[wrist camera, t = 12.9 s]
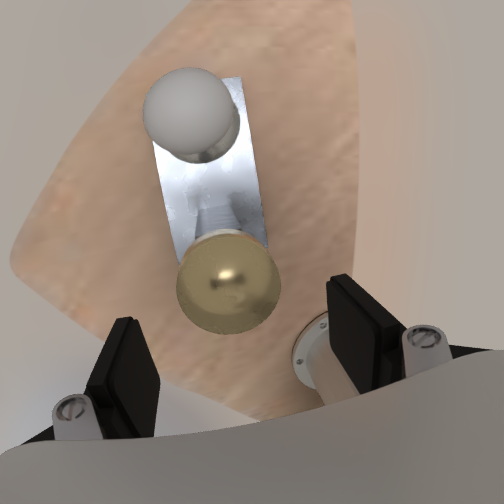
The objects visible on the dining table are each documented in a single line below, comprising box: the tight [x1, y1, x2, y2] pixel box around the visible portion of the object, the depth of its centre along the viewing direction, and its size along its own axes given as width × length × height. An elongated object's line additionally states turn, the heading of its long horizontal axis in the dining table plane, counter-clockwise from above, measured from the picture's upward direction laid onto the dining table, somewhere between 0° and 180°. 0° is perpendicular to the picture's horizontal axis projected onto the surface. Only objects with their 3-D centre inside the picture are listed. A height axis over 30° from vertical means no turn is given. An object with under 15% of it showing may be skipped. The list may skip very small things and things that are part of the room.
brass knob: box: [176, 229, 281, 335], centre depth 18 cm, size 5×5×6 cm
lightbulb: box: [143, 68, 234, 155], centre depth 22 cm, size 6×6×11 cm
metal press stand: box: [146, 77, 268, 265], centre depth 24 cm, size 17×9×12 cm, turn 9°
